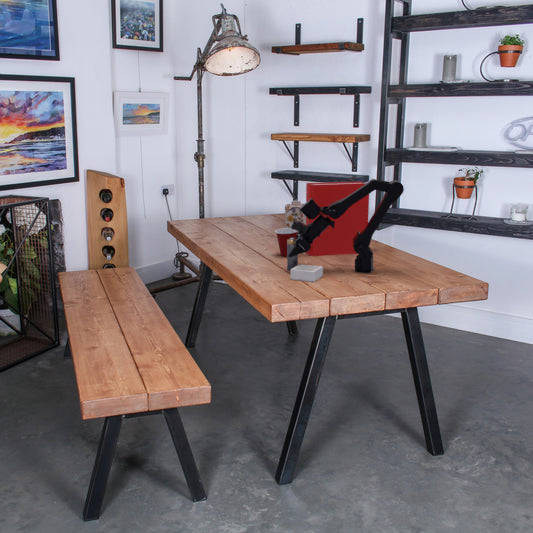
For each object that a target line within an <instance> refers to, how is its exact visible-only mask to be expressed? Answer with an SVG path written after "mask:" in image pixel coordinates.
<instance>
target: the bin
mask: <svg viewBox="0 0 533 533" xmlns="http://www.w3.org/2000/svg"><path fill="white" fill-rule="evenodd" d="M323 272H324V266H320V265H313V264H311V265H310V264H303V263H302V264H301V263H300V264H298V266H296V267H294V268H292V269H291V271H290V280H293V281H298V282H299V281H302V282H307V281H308V282H307V283H315V282H316V281H317V280H319V279H321V278H323V277H324V275H323V274H324V273H323Z"/></svg>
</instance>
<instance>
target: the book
mask: <svg viewBox="0 0 533 533" xmlns="http://www.w3.org/2000/svg"><path fill="white" fill-rule="evenodd" d="M366 183H367V182H364V181H363V180H361V181H360V180H359V181H331V182H330V181H327V182H326V181H325V182H324V181H323V182H306V185H305V186H306V187H305V192H306V193H305V201H306V202H305V203H307V202H308V201H309V200H310V199H311V198H312V199H313V200H314V201H315V202H316V203H317V205H318V206H319V207H324V206H329V205H330V204H331V203H333V202H336V201H338V200H341V199H343V198H345V197H347V196H348V195H350V194H351V193H353V192H354V191H356V190H357V189H359V188H360V187H362V186H363V185H365V184H366ZM369 205H370V194H368V195H367V196H365V197H364V198H362V199H361V200H359V201H358V202H356V203H355V204H353V205H352V206H350V207H349V208H348V209H347V211H346V212H345V213H344V214H343V215H342V216H340V217H339V218H338V219H332V218H330V217H329V216H328V215H323V214H322V213H321V212H320V213H321V214H322V215H323V216H325V217H326V216H328V217H329V218H330V219H331V220H332V221H335V224H334V228H332V227H331V226H328V227H327V228H326V229H325V230H324V231H323V232H322V233H321V234H320V236H319V237H317V238H316V239H315V240H314V241H313V243H312V244H311V249H310V250H309V251H308V252H305V254H306V255H308V256H310V257H318V256H319V257H323V256H339V255H341V256H342V255H356V254H357V255H359V254H358V253H356V252H355V250H354V248H353V238H354V237H355V236H356V233H357V231H359V232H360V233H361V232H362V231H363V230H364V229H365V227H366V226H367V224H368V222H369V208H370V207H369ZM319 215H320V214H319ZM319 215H318V216H319ZM318 216H317V217H318ZM317 217H316V218H317ZM316 218H315V219H316ZM315 219H313V220H312V219H308V218H307V217H306V225H308V224H311V223H312V222H313V221H314V220H315Z"/></svg>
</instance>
